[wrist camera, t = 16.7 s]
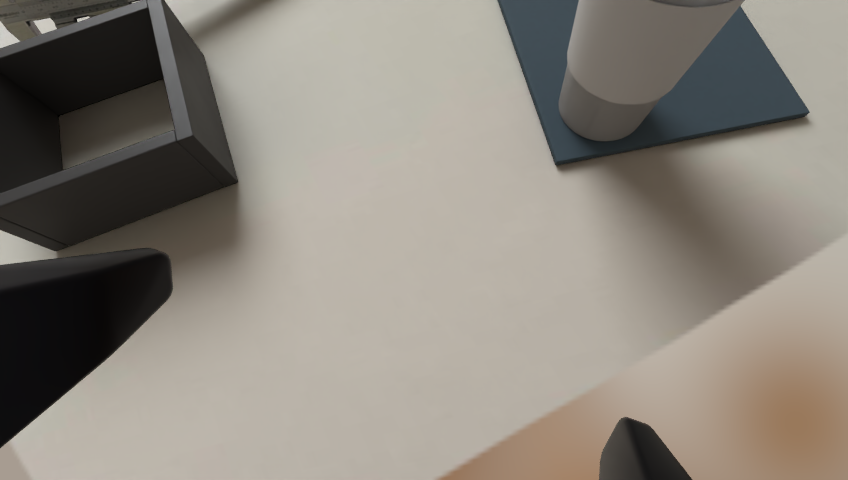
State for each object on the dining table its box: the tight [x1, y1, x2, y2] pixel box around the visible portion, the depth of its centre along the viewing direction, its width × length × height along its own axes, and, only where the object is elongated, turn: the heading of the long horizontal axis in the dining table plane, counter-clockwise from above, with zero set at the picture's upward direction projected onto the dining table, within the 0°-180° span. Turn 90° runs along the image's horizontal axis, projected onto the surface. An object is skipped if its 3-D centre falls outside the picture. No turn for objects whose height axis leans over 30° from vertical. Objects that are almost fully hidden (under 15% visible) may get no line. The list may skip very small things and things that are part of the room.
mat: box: [498, 0, 809, 165], centre depth 26 cm, size 16×14×1 cm
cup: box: [559, 0, 744, 142], centre depth 18 cm, size 7×7×12 cm
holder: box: [0, 0, 238, 251], centre depth 24 cm, size 11×11×4 cm
